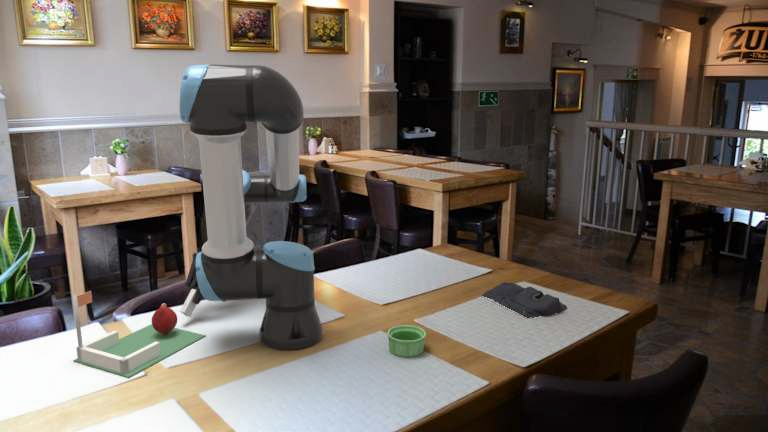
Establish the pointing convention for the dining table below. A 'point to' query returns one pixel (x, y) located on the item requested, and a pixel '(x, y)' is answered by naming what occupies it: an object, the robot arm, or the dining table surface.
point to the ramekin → (406, 340)
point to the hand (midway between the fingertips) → (185, 314)
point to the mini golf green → (109, 346)
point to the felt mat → (145, 337)
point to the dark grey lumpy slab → (525, 300)
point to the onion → (164, 319)
